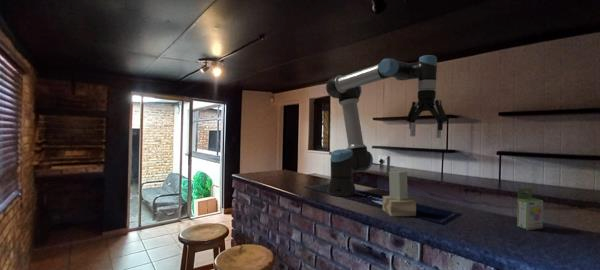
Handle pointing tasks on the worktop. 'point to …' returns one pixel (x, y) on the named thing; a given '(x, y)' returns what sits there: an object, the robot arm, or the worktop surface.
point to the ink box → (529, 211)
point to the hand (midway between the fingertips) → (424, 137)
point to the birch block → (399, 206)
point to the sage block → (398, 185)
